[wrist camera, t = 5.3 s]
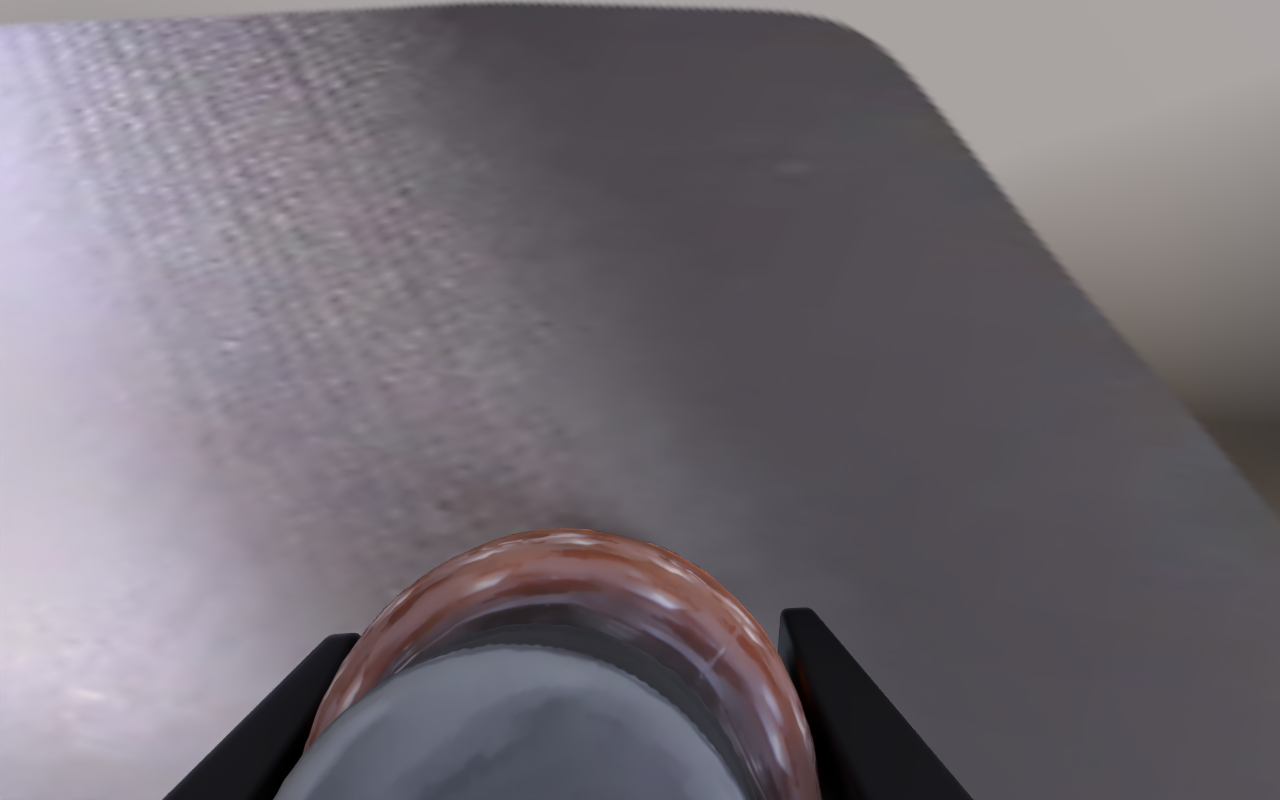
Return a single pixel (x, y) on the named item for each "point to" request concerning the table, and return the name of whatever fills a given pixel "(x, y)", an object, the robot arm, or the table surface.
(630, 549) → the supplement bottle
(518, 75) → the table surface
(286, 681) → the robot arm
